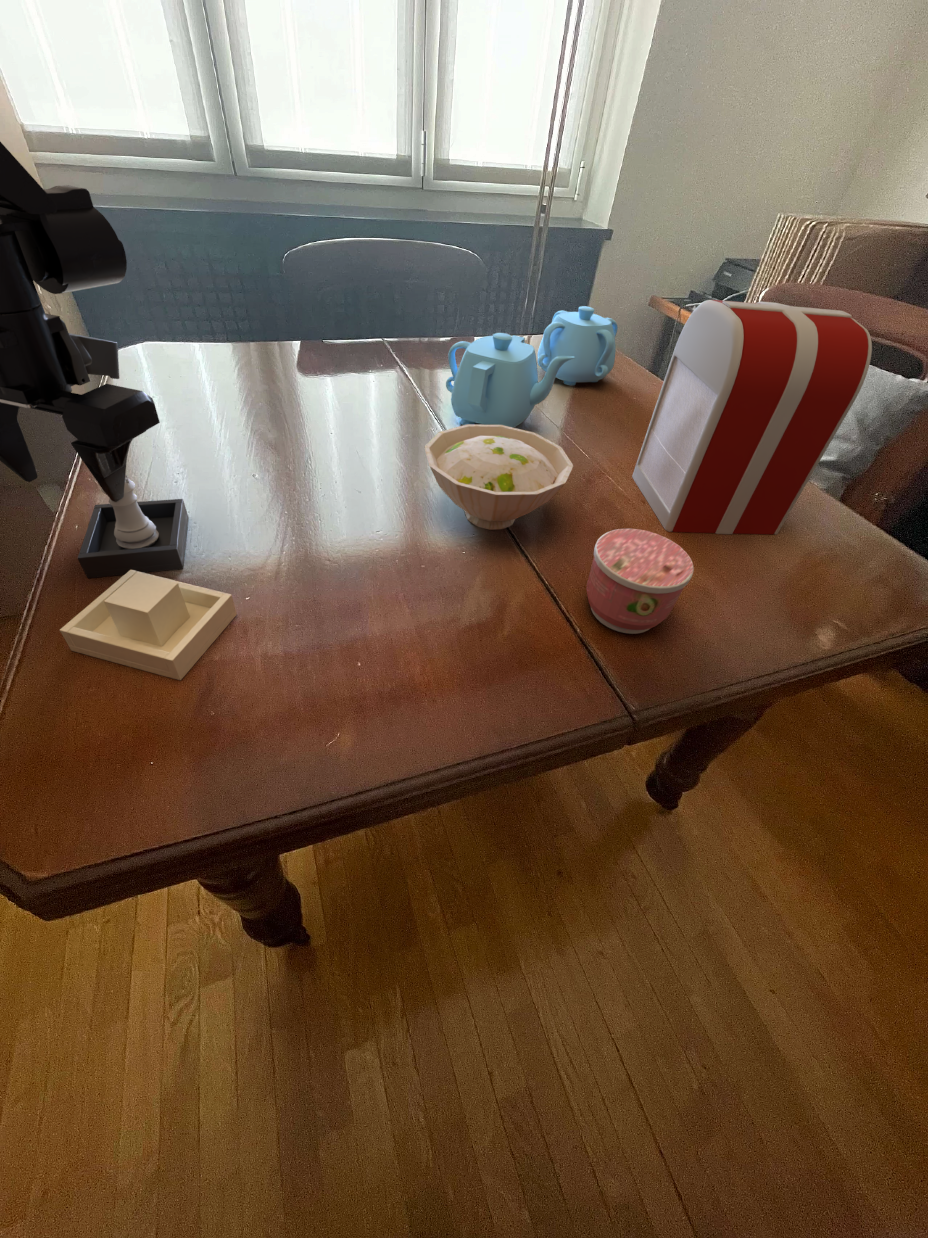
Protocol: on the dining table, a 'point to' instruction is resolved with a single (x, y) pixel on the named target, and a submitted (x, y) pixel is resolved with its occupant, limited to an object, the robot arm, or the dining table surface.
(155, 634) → the cream block
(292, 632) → the dining table surface
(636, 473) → the red striped display case
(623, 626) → the container
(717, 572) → the dining table surface
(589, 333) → the decorative pot
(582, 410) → the dining table surface
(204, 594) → the cream tray
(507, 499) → the bowl
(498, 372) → the teapot
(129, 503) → the rook chess piece
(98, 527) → the charcoal tray
